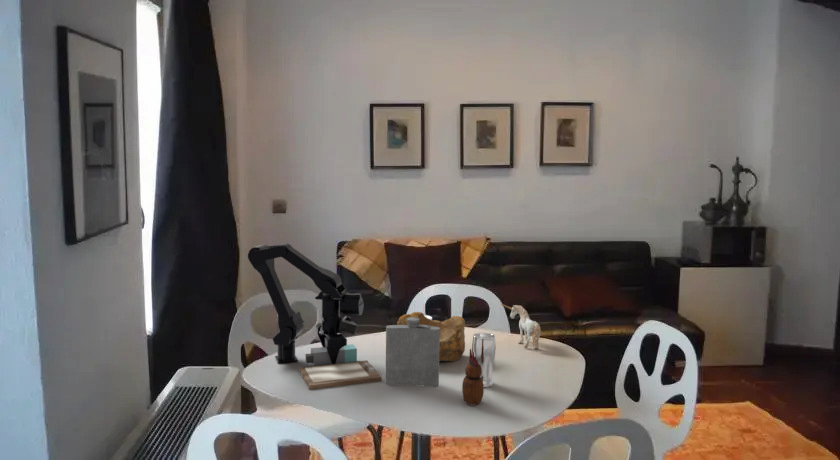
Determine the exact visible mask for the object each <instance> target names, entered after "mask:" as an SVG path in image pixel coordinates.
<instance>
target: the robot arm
mask: <svg viewBox="0 0 840 460" xmlns="http://www.w3.org/2000/svg"><path fill="white" fill-rule="evenodd" d="M277 258H282V259H284V260H285V261H286V262H288V263H289V264H291V265H292V266H293V267H295V268H296V269H298V270H299V271H300V272H302V273H303V274H305V275H306V276H308V277H309V278H310V280H312V283H314V285H315V286H316V288H318V289H319V290H320V292H318V295H317V296H315V298H314V299H315V300H319V301H320V300H321V314H320V315H319V316H320V319H321V322H318V323H317V324H316V325H315V332H316V336H317V337H318V340H319V342H320V344H321V347H326V349H327V352H328V355H329V357H330V360H331V363H332V364H335V363H336V360H337V357H338V353H339V350H340V349H341V348H342V347H344V346H346V345H348V339H347V338H346V337H345V336H344V334H343V332H345V333H347V334H348V333H349V334H351V335H352V336H353V335H355V334H356V332H357V329H358V324H357V323H356V322H354V321H352V319H351V317H350V316H347V315H353V316H362V314H363V312H364V308H365V306H364V305H365V303H364V299H363V297H362V293H358V292H357V293H349V290H348V289H347V288H346V287H345V285H344V284H343V282H342V278H341V276H340V274H338V273H336V272H335V271H332V270H329V269H327V268H323V267H321V266H319V265H317V264H316V263H315V262H313V260H311V259H309V258H308V257H307V256H306V255H304V254H303V253H301V252H299V250H297V249H295V248H294V247H293V246H292V245H291V244H289V242H288V243H287V242H285V243H282V244H275V245H270V246H269V245H267V244H259V245H257V246H253V247H252V248H250V249H249V250H248V254H247V259H248V261H249V264H250V265H251V266H252V267H253V269H254V270H255V271H256V272H258V273H259V275H261V279H262V281H263V283H264V285H265V288H266V290H267V293H268V295H269V298H270V299H271V302H272V304H273V307H274V309H275V311H276V314H277V327H278V333H277V334H276V335H275V336H273V338H272V341H273V344H274V345H275V346H277V347H276V348H277V350H276V351H277V355H275V360H276V362H277V364H284V363H285V364H286V363H294V362H295V363H296V362H298V361H299V359H298V357H297V356H296V340H297V339H298V338H299V336H300V335H301V333H303V331H304V328H305V325H304V323H305V320H303V318H302V314H301V312H300V311H297V312H295V310H293V308H292V307H291V305H290V303H289V300H288V297H287V295H286V293H285V291H284V288H283V286H282V284H281V281H280V279H279V276H278V274H277V272H276V269H275V259H277ZM340 313H342V314H343V315H345V316H344V317H342V316H341V314H340Z"/></svg>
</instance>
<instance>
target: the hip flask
mask: <svg viewBox="0 0 840 460" xmlns="http://www.w3.org/2000/svg"><path fill="white" fill-rule="evenodd" d="M407 322H408V325H398V324H392V325H391V324H389V325H386V326H385V385H388V386H417V385H424V386H423V387H429V386H437V387H438V385H439V383H440V361H439V346H440V328H439V327H434V326H428V325H419V323H418V322H419V318H414V317H412V318H408V319H407ZM439 386H440V385H439Z"/></svg>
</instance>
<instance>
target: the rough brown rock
mask: <svg viewBox="0 0 840 460" xmlns="http://www.w3.org/2000/svg"><path fill="white" fill-rule="evenodd" d="M424 315H425V313H424V314H423V312H421V311H413V312H411V313H410V314H409V313H405V314H403V315H401V316H400V317H399V318H398V321H397V324H396V325H408V322H407V319H408V318H412V317H414V318H419V322H418V323H419V325H428V326H434V327H439V328H440V346H439V362H440V361H445V362H447V361H448V362H458V360H459V359H460V358H461V357H462V356H463V355H464V353H465V348H466V340H465V338H466V337H465V336H466V335H465V329H466V328H465V326H466V321H465V319H464V317H462V316H457V315H456V316H455V315H454V316H452V317H450V318H448V319H445V320H443V321H440V320H437V319H436V320H435V319H432V320H430V319H428V318H426V317H425V316H424Z"/></svg>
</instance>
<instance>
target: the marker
mask: <svg viewBox="0 0 840 460" xmlns="http://www.w3.org/2000/svg"><path fill="white" fill-rule="evenodd" d="M357 353H358V348H357V347H356V346H355V345H354V344H353V343H352V344H347V345H346V346H344V347H342V348H341V349H340V350H339V353H338V357H337V360H336V363H335V364H337V363H346V362H356V361H358V358H357V357H358V354H357ZM305 363H306V364H311V366H318V365H327V364H332V363H331V360H330V357H329V355H328V352H327V349H326V347H322V346H321V347H320V346H319V347H312V348H311V347H310V353H305Z"/></svg>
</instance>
